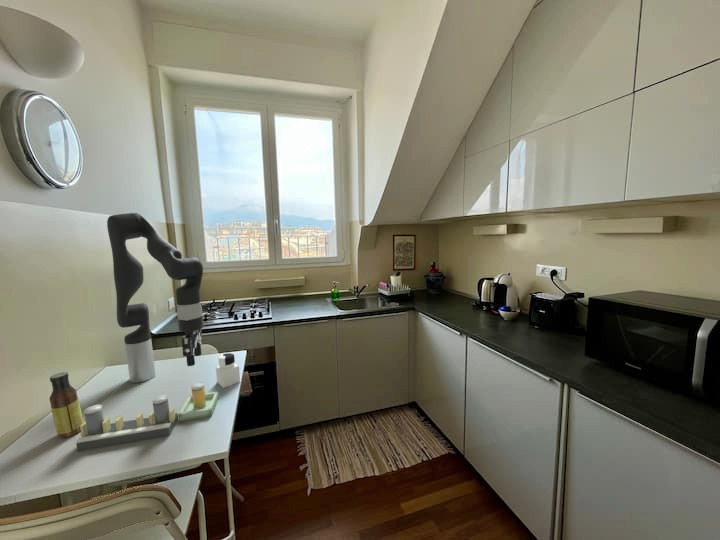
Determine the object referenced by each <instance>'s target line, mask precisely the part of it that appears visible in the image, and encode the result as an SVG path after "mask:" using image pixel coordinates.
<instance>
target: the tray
mask: <svg viewBox="0 0 720 540" xmlns="http://www.w3.org/2000/svg"><path fill="white" fill-rule="evenodd" d="M219 394H220V393H219V391H213V392H205V397H206V407H204V408H203V409H200V410H194V406H193V397H192V394H191V395H189V396H188V397H187V399H186V401H185V402H184V404H183V406H182V407H181V409H180V411H179V413H178V422H183V421H184V422H185V421H191V420H197V419H202V418H203V419H204V418H208V417H212V416H213V413H214V411H215V409H216V406H217V403H218V401H219V399H220V396H219Z"/></svg>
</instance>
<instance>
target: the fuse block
mask: <svg viewBox="0 0 720 540" xmlns="http://www.w3.org/2000/svg"><path fill="white" fill-rule="evenodd" d="M178 414H179V413H178V412H176V411H175V407H172V408H170V409H169V419H170V421H169V422H168V423H165V424H159V425H155V417H154V410H153V411H151V412H150V413H149V415H148V417H145V418H144V412H140V413H138V415H137V416H136V417H135V419H132V420H126V421H124V418H123V415H120V416H118V417H117V418H116V420H114V422H113V423H111V418H110V417H106V419H104V422H103V423H102V426H103V433H102V434H99V435H92V436H88V433H87V427H86V421H83V424H82V425H81V426H80V430H81V431H80V435H81V437H79V438H78V439H77V440H76V442H75V443H76V450H77V452H81V451H88V450H92V449H98V448H99V449H100V448H105V447H111V446H116V445H122V444H127V443H134V442H139V441H144V440H149V439H157V438H162V437H169V436H170V435H171V434H172V432H173V430H174V429H175V427H176V425H177V423H178V422H179V416H178Z"/></svg>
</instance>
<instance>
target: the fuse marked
mask: <svg viewBox="0 0 720 540" xmlns="http://www.w3.org/2000/svg"><path fill="white" fill-rule="evenodd" d="M205 393H206V388H205V383H204V382H198V383H197V382H196V383H195V384H192V385H191V395H192V397H193V406H194V410H200V409H203V408H204V407H206V397H205Z"/></svg>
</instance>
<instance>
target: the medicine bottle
mask: <svg viewBox="0 0 720 540" xmlns="http://www.w3.org/2000/svg"><path fill="white" fill-rule="evenodd" d="M215 373H216V383H218V385H220V386H221V388H222V389H224V388H228V387H230V386H233V385H235V384H238V383H240V382H241V375H240V374H241V373H240V366H239V365H238V364H237V363H236V361H235V354H234V353H231V352H229V353H223V354H221V355H219V356H218V365H217V366H215Z"/></svg>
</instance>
